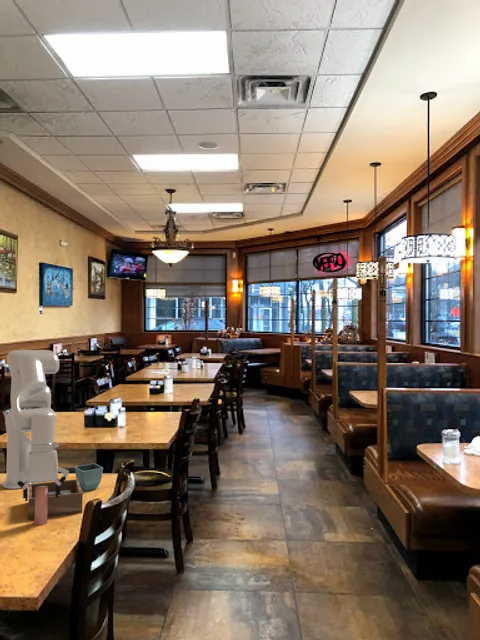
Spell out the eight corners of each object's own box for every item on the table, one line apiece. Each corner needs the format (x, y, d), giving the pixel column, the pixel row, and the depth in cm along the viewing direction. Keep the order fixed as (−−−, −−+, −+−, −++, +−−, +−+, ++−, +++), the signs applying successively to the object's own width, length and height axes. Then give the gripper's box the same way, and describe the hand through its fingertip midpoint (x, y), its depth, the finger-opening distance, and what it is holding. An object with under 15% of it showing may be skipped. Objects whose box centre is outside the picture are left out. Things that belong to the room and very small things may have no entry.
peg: (34, 521, 168) (35, 486, 168) (46, 520, 170) (47, 485, 170) (34, 526, 164) (35, 490, 165) (47, 524, 166) (48, 488, 166)
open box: (28, 502, 187) (28, 484, 187) (77, 496, 194) (78, 479, 194) (28, 519, 170) (28, 499, 170) (82, 512, 177) (82, 493, 177)
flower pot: (82, 493, 198) (83, 471, 198) (73, 488, 204) (74, 466, 205) (103, 489, 204) (103, 467, 204) (93, 484, 210) (94, 463, 210)
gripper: (68, 443, 174) (67, 492, 174) (15, 447, 168) (14, 498, 167) (70, 447, 168) (69, 498, 167) (14, 452, 161) (13, 505, 160)
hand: (41, 498), depth 167 cm, fingers open, 9 cm apart
